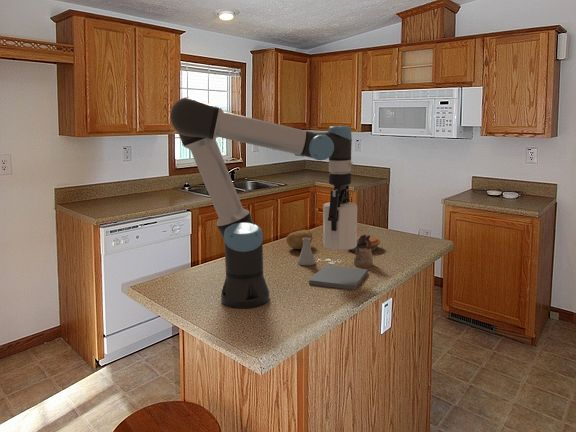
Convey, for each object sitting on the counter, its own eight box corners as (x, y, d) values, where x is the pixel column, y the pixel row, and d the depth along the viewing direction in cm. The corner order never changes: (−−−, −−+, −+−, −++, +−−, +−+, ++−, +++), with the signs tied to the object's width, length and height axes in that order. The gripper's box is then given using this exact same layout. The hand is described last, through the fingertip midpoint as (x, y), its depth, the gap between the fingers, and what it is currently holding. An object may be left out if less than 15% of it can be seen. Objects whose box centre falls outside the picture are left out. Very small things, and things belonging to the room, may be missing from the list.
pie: (356, 242, 219) (356, 231, 218) (386, 247, 209) (387, 236, 208) (336, 249, 207) (337, 238, 206) (368, 256, 197) (368, 244, 196)
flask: (314, 266, 184) (314, 241, 182) (295, 265, 186) (295, 240, 184) (317, 261, 191) (317, 236, 189) (299, 260, 192) (299, 236, 190)
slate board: (354, 290, 159) (354, 285, 159) (309, 284, 165) (309, 280, 165) (367, 273, 175) (367, 269, 175) (325, 268, 181) (325, 264, 181)
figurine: (361, 260, 191) (362, 231, 188) (376, 264, 186) (377, 234, 183) (350, 264, 186) (350, 234, 183) (365, 268, 181) (365, 237, 178)
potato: (318, 246, 212) (318, 229, 210) (299, 254, 201) (299, 235, 199) (301, 243, 218) (300, 226, 216) (281, 250, 207) (281, 232, 205)
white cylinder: (351, 251, 160) (351, 208, 157) (319, 248, 165) (319, 206, 162) (359, 242, 171) (360, 202, 168) (329, 240, 175) (329, 200, 172)
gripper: (340, 177, 150) (340, 245, 155) (359, 169, 172) (359, 228, 176) (318, 176, 153) (318, 243, 158) (339, 168, 175) (339, 227, 179)
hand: (339, 235), depth 167 cm, fingers closed on white cylinder, 11 cm apart
